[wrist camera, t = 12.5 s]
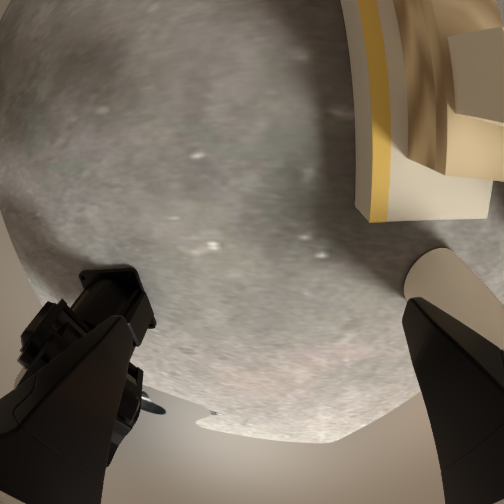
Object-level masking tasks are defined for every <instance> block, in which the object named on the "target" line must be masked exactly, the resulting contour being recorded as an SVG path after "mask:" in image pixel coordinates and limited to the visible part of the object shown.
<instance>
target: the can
mask: <svg viewBox="0 0 504 504" xmlns="http://www.w3.org/2000/svg"><path fill="white" fill-rule="evenodd" d="M404 296H405V298H406V300H407V301H408V300H409V299H410V298H413V297H422V298H424V299H425V300H427V301H429V302H430V303H432V304H433V305H435V306H437V307H438V308H440V309H441V310H443V311H445V312H446V313H448V314H449V315H451V316H452V317H454V318H456V319H457V320H459V321H460V322H462V323H463V324H465V325H466V326H468V327H469V328H471V329H472V330H474V331H475V332H477V333H478V334H480V335H481V336H483V337H484V338H486V339H487V340H489V341H490V342H492V343H493V344H495V345H496V346H498V347H499V348H500V350H501V349H502V350H503V351H504V306H503V304H502V303H501V302H500V301H499V299H498V298H497V297H496V296H495V295H494V294H493V292H492V291H491V290H490V289H489V288H488V287H487V286H486V285H485V283H484V282H483V281H482V280H481V279H480V278H479V277H478V276H477V275H476V274H475V273H474V272H473V271H472V270H471V268H470V267H469V266H468V265H467V264H466V263H465V262H464V261H463V260H462V259H461V258H459V257H458V256H457V255H456V254H455V253H454V252H453V251H452V250H450V249H447V248H438V249H434V250H431V251H429V252H427V253H425V254H424V255H422V256H421V257H420V258H419V259H418V260H417V261H416V262H415V263H414V264H413V265H412V267H411V268H410V270H409V272H408V274H407V277H406V280H405V283H404Z"/></svg>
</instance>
